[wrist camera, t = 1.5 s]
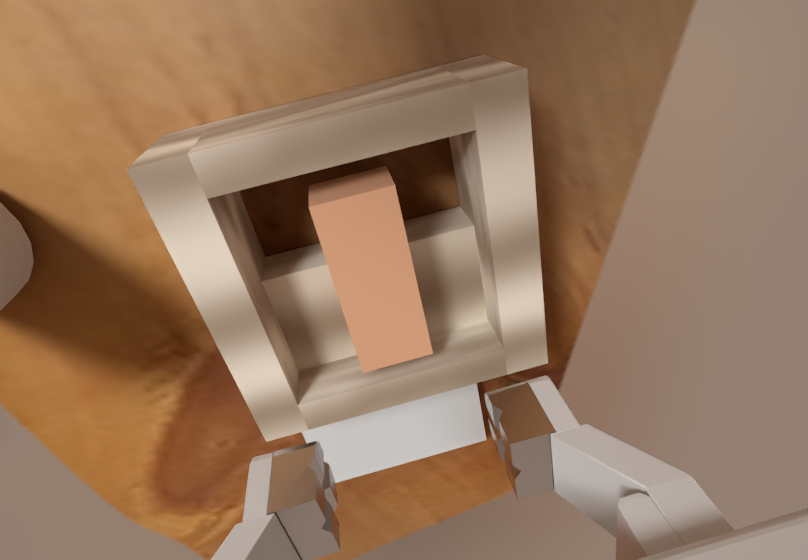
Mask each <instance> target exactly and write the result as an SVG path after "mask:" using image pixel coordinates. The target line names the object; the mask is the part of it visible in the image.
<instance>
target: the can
mask: <svg viewBox="0 0 808 560" xmlns="http://www.w3.org/2000/svg"><path fill="white" fill-rule="evenodd" d="M33 264H34V259H33V253H32V246H31V242H30V240H29V238H28V236H27V234H26V233H25V231H24V229H23V227H22V225H21V223H20V222H19V221H18V220H17V219H16V218H15V217H14V216H13V215H12V214H11V213H10V212H9V211H8V210H7V208H6V207H5V206H4V205H3V204H2V203H1V202H0V311H1V310H2V309H3V308H4V307H5V306H6V305H7V304H8V303H9V302H10V301H11V300H12V299H13V298H14V297H15V296H16V295H17V293H18V292H19V291H20V290H21V289H22V288H23V287H24V285H25V284H26V283H27V282H28V281H29V279H30V275H31V272H32V268H33Z"/></svg>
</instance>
